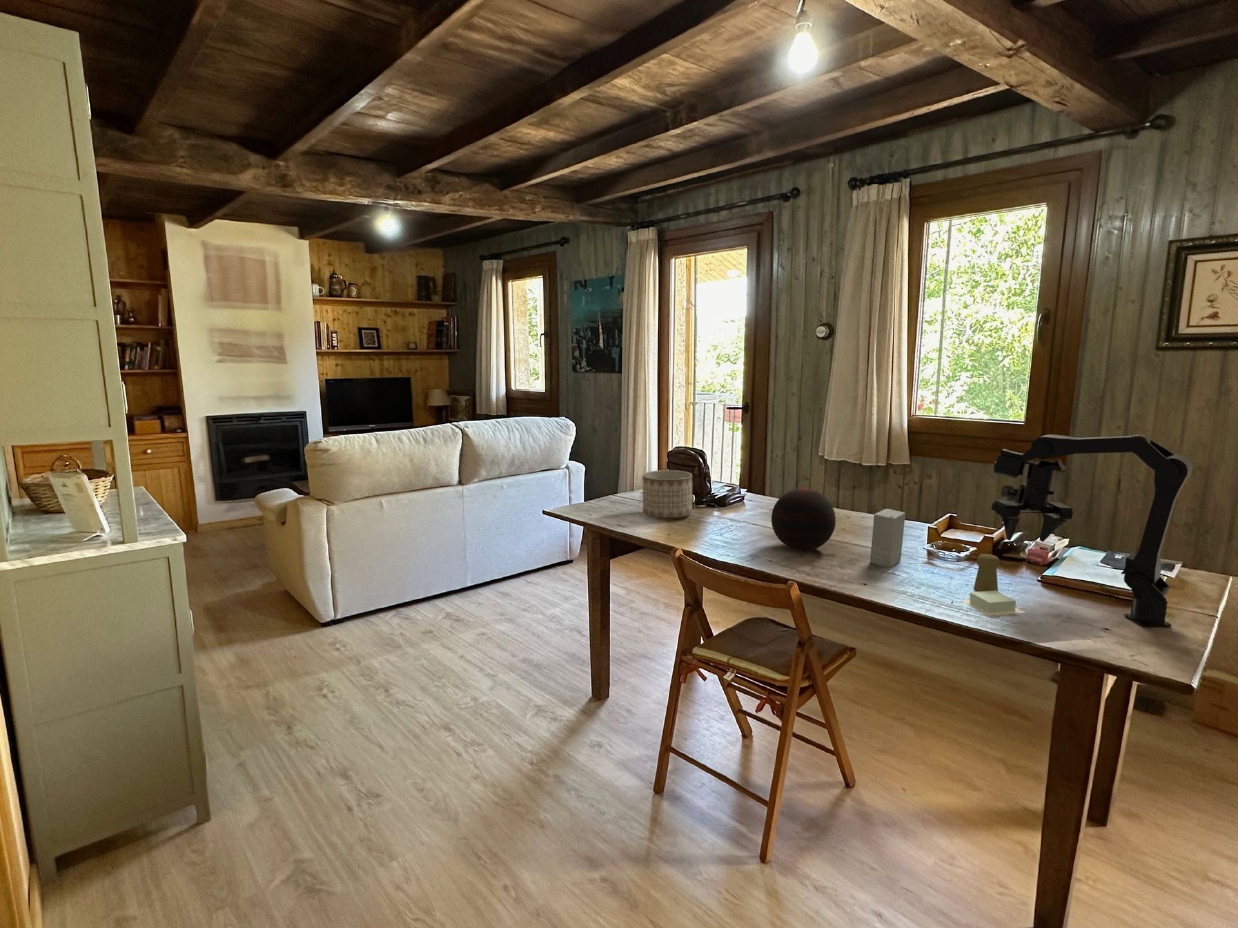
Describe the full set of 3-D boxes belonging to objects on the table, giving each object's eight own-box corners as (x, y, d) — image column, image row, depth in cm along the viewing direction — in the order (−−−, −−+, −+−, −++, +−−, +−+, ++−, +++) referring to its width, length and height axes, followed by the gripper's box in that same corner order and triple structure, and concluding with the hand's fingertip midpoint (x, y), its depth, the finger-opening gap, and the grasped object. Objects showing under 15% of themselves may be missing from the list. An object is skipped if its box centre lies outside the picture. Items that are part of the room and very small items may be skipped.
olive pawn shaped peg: (975, 589, 179) (978, 550, 177) (1000, 594, 175) (1004, 554, 173) (969, 596, 174) (973, 555, 172) (995, 601, 170) (999, 560, 168)
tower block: (1015, 610, 161) (1016, 600, 160) (988, 612, 160) (989, 602, 159) (995, 599, 167) (995, 590, 167) (969, 601, 166) (970, 592, 166)
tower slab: (1024, 618, 160) (1025, 612, 159) (986, 621, 158) (987, 615, 158) (995, 602, 169) (996, 597, 169) (959, 605, 168) (960, 599, 168)
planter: (645, 509, 273) (645, 469, 270) (692, 510, 270) (692, 470, 267) (640, 521, 254) (640, 479, 251) (691, 522, 251) (691, 479, 248)
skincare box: (880, 557, 207) (883, 507, 204) (903, 562, 202) (907, 511, 199) (868, 563, 201) (871, 512, 198) (891, 568, 196) (894, 516, 193)
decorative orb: (805, 537, 229) (807, 480, 226) (848, 553, 212) (850, 491, 208) (758, 545, 221) (759, 486, 217) (798, 562, 203) (800, 498, 200)
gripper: (1051, 476, 178) (1037, 530, 182) (985, 473, 177) (973, 528, 181) (1081, 488, 168) (1066, 546, 172) (1011, 485, 166) (998, 543, 170)
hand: (1024, 540), depth 174 cm, fingers open, 9 cm apart
